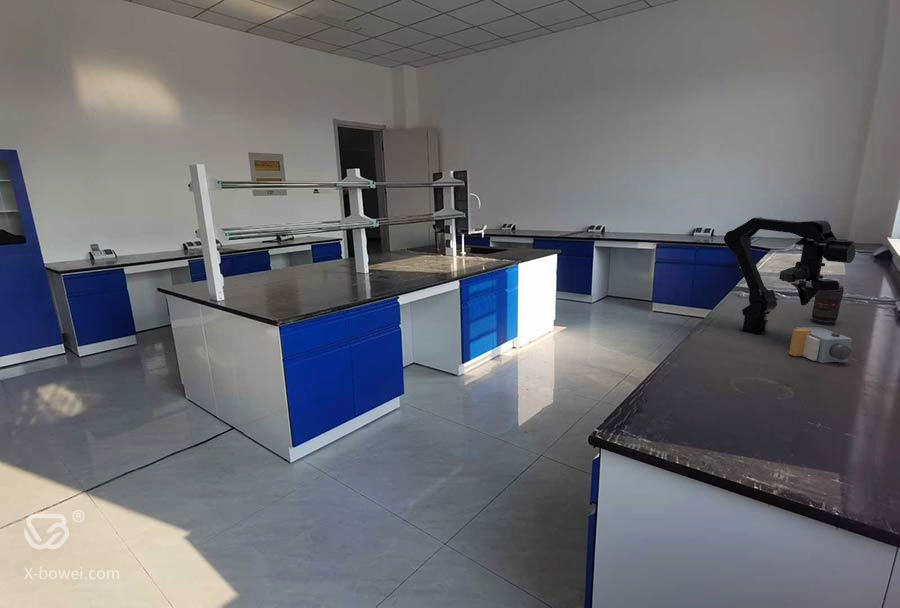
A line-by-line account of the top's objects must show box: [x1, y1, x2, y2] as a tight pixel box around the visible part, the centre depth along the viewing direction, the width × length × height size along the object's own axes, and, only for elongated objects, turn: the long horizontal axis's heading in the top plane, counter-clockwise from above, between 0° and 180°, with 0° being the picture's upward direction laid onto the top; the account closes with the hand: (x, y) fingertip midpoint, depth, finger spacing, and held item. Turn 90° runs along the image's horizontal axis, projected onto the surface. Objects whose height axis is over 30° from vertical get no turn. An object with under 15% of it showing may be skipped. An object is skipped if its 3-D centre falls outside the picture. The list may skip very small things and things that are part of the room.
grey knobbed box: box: [794, 326, 853, 364], centre depth 141 cm, size 14×8×8 cm, turn 1°
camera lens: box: [811, 285, 845, 326], centre depth 174 cm, size 8×8×15 cm
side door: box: [788, 328, 820, 361], centre depth 141 cm, size 6×4×8 cm, turn 1°
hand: (803, 305), depth 153 cm, fingers closed
